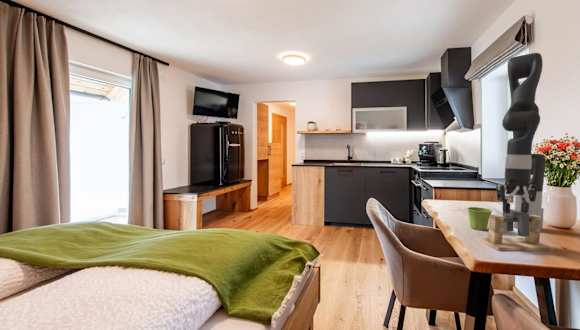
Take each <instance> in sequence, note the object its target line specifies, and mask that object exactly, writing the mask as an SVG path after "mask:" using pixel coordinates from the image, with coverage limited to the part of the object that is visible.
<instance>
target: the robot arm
mask: <svg viewBox="0 0 580 330" xmlns="http://www.w3.org/2000/svg"><path fill="white" fill-rule="evenodd" d="M542 56H543V55H541V53H539V52H532V53H527V54H523V55H517V56H513V57H510V58H509V59H508V62H507V75H508V76H507V78H508V83H509V91H510V92H509V93H510V106H509V108H508V110H507V111H506V113H505V114H504V117H503V119H502V124H501V125H502V127H503V129H504V130H505V131H507V132H512V138H509V139H508V141H507V145H506V147H507V148H506V157H505V169H504V180H505V182H504V183H503V184H499V183H498V184H496V187H495V188H496V200H497V201H500V202H502V213H503V212H504V213H510V209H511V201H512V199H513V198H514V199H515V200H514V210H516V211H520V212H524V213H527V214H529V215H537V216H540V217H541V225H540V231H543V225H544V208H543V205H542V203H543V192H544V191H543V190H544V180H545V173H546V164H547V161H546V157H545V155H544V154H542V153H532V149H533V140H534V138H535V135H536V131H537V130H538V127H539V125H540V122H541V116H540V109H539V107H538V106H539V105H537V104H536V103H535V101H536V92H537V89H538V85H539V82H540V79H541V76H542V72H543V64H544V62H543V57H542ZM520 79H521V80H522V79H524V81H522V82H521V83H520V81H519V80H520ZM531 176H532V177H531ZM513 228H516V229H518V222H513Z"/></svg>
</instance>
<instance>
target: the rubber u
mask: <svg viewBox="0 0 580 330" xmlns="http://www.w3.org/2000/svg"><path fill="white" fill-rule="evenodd" d="M502 216H503V217H514V218H517V219H518V228H517V236H519V237H521V238H525V237H526V236H529V214H527V213H524V212H520V211H516V210H515V209H512V208H510V213H504V212H503V211H502ZM503 231H506V232H514V222H503Z"/></svg>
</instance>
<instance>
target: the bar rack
mask: <svg viewBox="0 0 580 330" xmlns="http://www.w3.org/2000/svg"><path fill="white" fill-rule="evenodd" d="M503 222H513V223H514V222H518V219H517V218H514V217H503V215H499V214H491V215H490V217H489V221H488V234H487V235H488V236H487V237H476V241H477V242H479V243H481V244H483V245H485V246H487V247H489V248H491V249H494V250H496V251H500V252H501V251H504V252H505V251H506V252H507V251H554V247H553V246H550V245H548V244H546V243H545V244H544V243H542V242H540V240H541V238H540V236H541V230H540V225H541V217H540V216H537V215H529V236H526V237H504V236H503V231H504V230H503Z"/></svg>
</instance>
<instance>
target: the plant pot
mask: <svg viewBox="0 0 580 330" xmlns="http://www.w3.org/2000/svg"><path fill="white" fill-rule="evenodd" d="M466 210H467V212H468V217H469V226H470V229H473V230H476V231H487V229H488V226H489V217H490V215H492V213H493V210H492V209H490V208H485V207H479V206H477V207H476V206H469V207H466Z"/></svg>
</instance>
